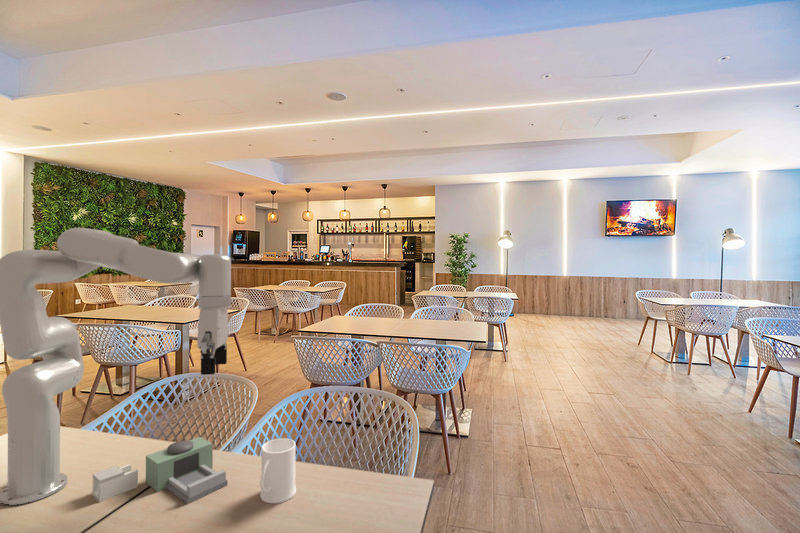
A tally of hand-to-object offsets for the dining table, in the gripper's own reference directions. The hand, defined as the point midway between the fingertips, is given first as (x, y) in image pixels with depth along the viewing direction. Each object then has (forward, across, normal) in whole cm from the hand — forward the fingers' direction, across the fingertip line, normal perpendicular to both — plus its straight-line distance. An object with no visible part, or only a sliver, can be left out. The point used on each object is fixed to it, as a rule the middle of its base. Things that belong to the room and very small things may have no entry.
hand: (214, 368), depth 100 cm
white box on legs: (+30, -1, -23) cm, 38 cm away
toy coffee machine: (+30, -2, -6) cm, 31 cm away
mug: (+30, +7, +16) cm, 35 cm away
